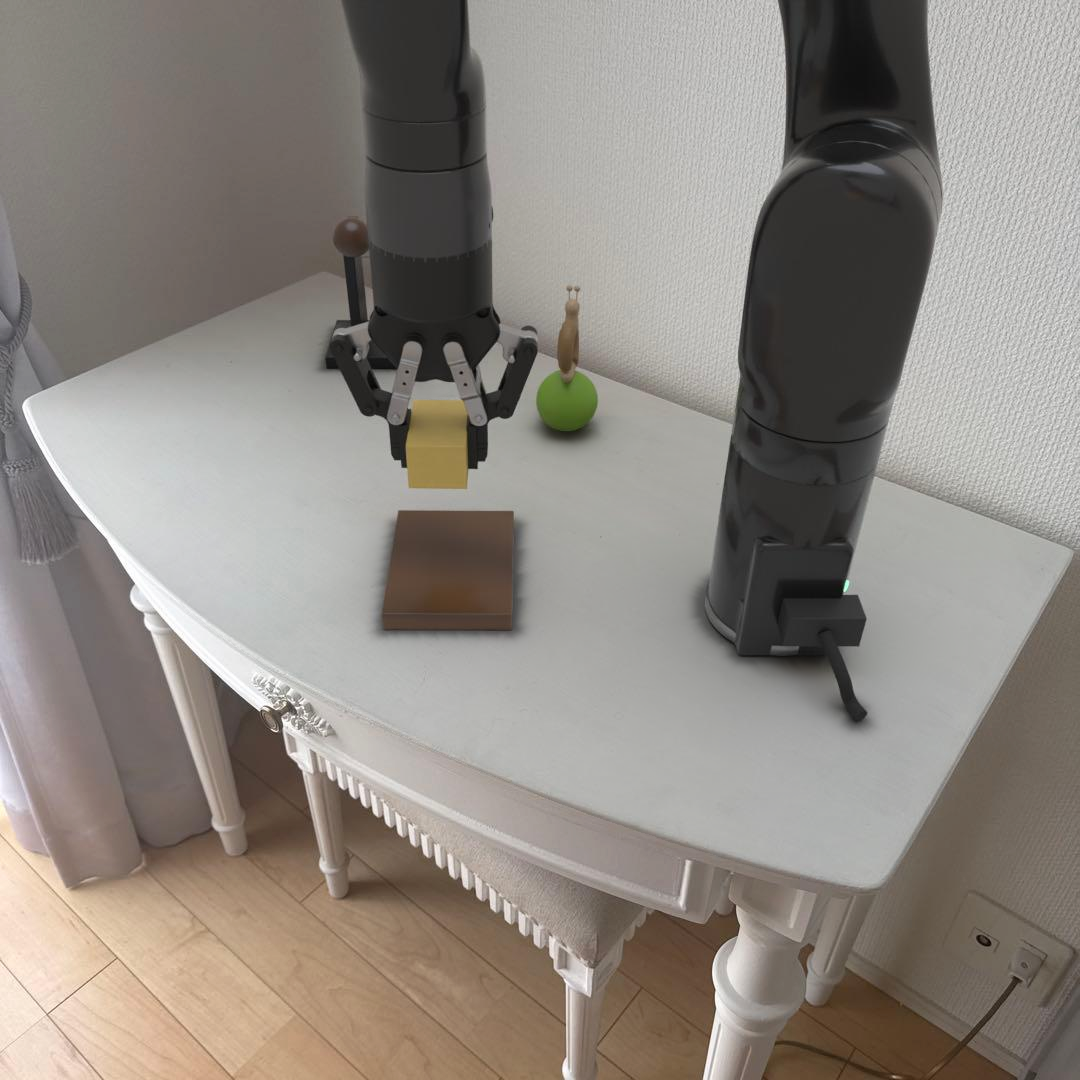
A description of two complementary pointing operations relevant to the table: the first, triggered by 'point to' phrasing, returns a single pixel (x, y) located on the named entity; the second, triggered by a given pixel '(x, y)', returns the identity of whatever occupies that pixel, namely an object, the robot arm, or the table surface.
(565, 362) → the snail figurine
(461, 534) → the board
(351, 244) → the brown knob lever
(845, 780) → the table surface
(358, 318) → the slicer bracket
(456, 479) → the butter
